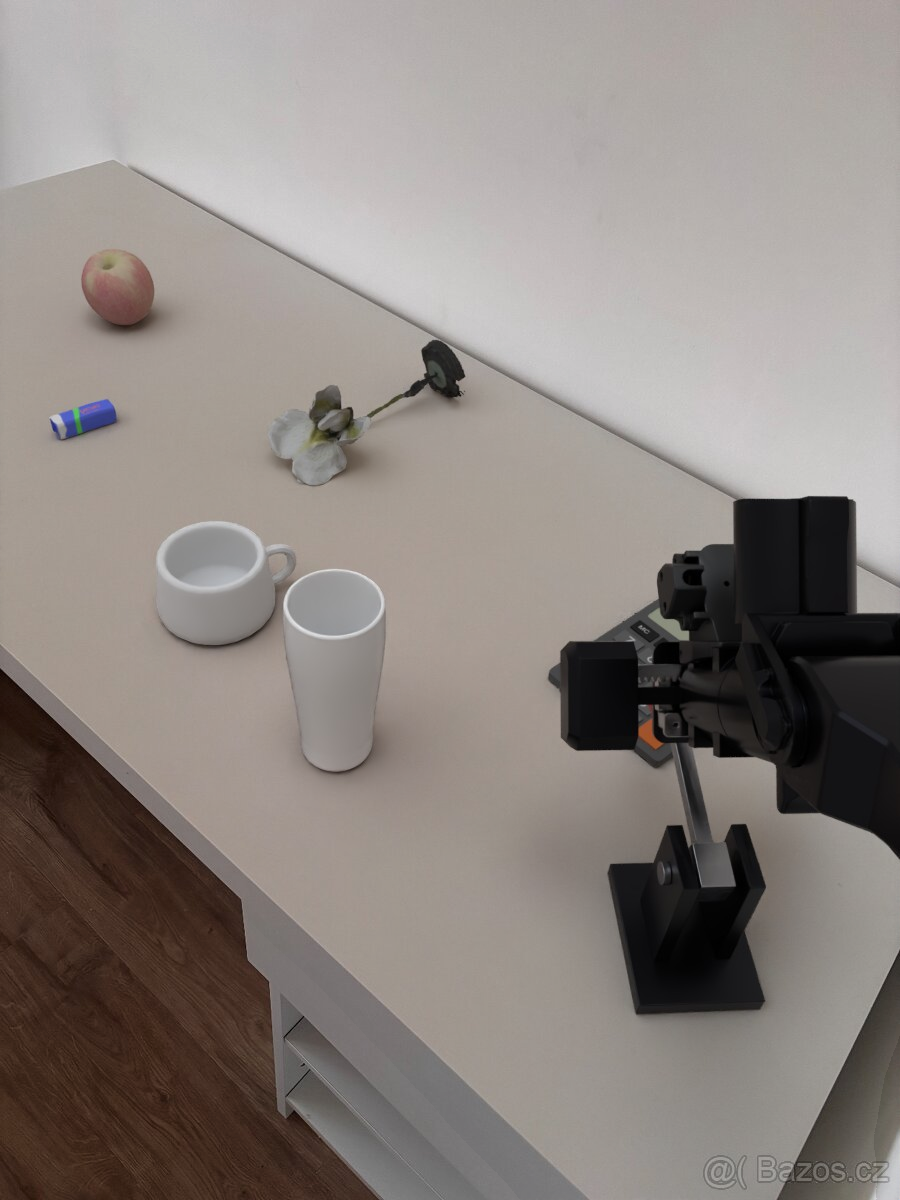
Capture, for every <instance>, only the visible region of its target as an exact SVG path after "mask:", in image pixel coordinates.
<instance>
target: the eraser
mask: <svg viewBox="0 0 900 1200" xmlns="http://www.w3.org/2000/svg"><path fill="white" fill-rule="evenodd" d="M49 421H50V426H51V429H52V431H53V432H54V433H56V434H57V437H58V439H59V440H64V439H68V438H71V437H75V436H77V435H81V434H83V433H86V432H89V431H92V430H95V429H99V428H102V427H105V426H108V425H111V424H114V423H117V413H116V408H115V406H114V404H113V403H112V402H111V401H110V400H109V398H105V399H101V400H97V401H92V402H90V403H86V404H83V405H81V406H78V407H75V408H72V409H69V410H66V411H63V412H60V413H56V414H53V415H50V416H49Z"/></svg>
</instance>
